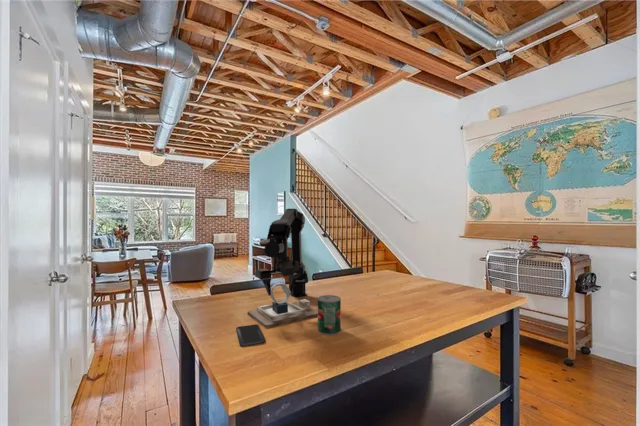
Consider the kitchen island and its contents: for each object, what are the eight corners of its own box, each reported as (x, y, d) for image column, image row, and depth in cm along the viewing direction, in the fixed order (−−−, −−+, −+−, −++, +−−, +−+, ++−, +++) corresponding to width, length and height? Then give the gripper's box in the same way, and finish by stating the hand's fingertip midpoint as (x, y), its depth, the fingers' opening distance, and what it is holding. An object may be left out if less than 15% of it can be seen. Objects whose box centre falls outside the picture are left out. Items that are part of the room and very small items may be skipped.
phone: (240, 344, 90) (235, 327, 104) (240, 348, 90) (235, 330, 104) (266, 340, 93) (258, 323, 107) (266, 344, 93) (258, 327, 107)
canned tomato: (345, 332, 101) (345, 299, 102) (325, 336, 98) (325, 302, 98) (332, 324, 108) (332, 294, 108) (313, 328, 104) (313, 297, 105)
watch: (292, 311, 117) (292, 283, 118) (272, 314, 114) (272, 285, 114) (287, 307, 122) (287, 280, 122) (268, 310, 119) (268, 282, 119)
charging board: (299, 303, 133) (299, 294, 133) (322, 315, 119) (322, 304, 119) (247, 314, 120) (247, 304, 120) (266, 328, 105) (266, 316, 105)
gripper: (266, 258, 106) (266, 302, 106) (311, 254, 117) (311, 294, 117) (254, 254, 115) (254, 295, 115) (296, 251, 126) (296, 288, 126)
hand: (280, 293), depth 118 cm, fingers open, 9 cm apart
